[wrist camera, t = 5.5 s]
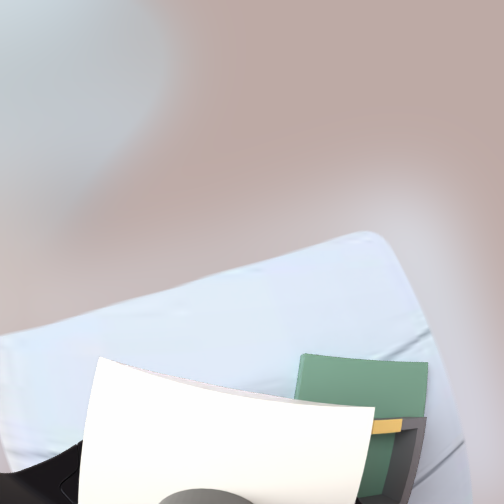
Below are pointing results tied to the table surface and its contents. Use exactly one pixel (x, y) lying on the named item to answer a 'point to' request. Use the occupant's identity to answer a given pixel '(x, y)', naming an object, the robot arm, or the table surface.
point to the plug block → (215, 444)
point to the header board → (375, 415)
